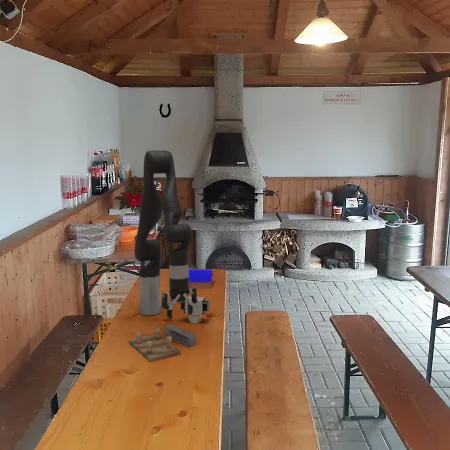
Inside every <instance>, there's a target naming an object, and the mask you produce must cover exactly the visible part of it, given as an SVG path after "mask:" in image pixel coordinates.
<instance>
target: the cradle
mask: <svg viewBox="0 0 450 450" xmlns="http://www.w3.org/2000/svg"><path fill="white" fill-rule="evenodd" d="M154 331H155V333H154V334H150V335H149V334H148V335H145V336H142V332H140V331H137V332H135V338H132V339H128V343H129V345H131V346H132V348H134V349H135V350H136V351H137V352H139V353H140V354H141V355H142V356H143V357H144V358H145V359H146V360H147V361H148V362H150V363H151V362H155V361H159V360H163V359H167V358H170V357H171V358H172V357H175V356H179V355H181V350H180V349H179V348H178V347H176V346H174V345H173V339H172V337H171V336H166V339H165V337H163V336H162V335H161V333H162V332H161V328H160V327H155V328H154Z"/></svg>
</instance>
